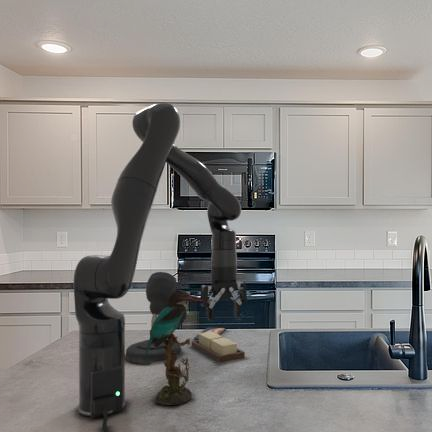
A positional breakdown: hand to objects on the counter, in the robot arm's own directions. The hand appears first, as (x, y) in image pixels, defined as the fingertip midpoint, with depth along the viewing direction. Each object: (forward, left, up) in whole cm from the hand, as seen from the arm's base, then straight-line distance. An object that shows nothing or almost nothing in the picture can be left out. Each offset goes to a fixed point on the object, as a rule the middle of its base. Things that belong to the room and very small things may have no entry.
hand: (223, 319), depth 133 cm
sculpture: (-21, +23, -12) cm, 33 cm away
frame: (+5, 0, -11) cm, 12 cm away
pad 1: (+9, 0, -11) cm, 14 cm away
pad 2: (0, 0, -11) cm, 11 cm away
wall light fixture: (+16, +15, -12) cm, 25 cm away
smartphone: (+24, -7, -11) cm, 27 cm away
